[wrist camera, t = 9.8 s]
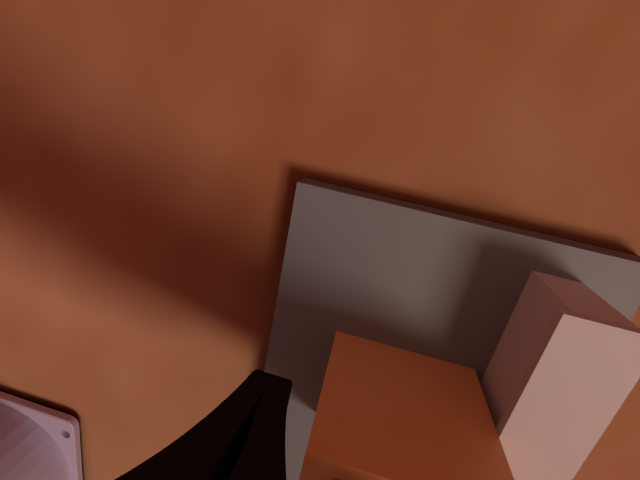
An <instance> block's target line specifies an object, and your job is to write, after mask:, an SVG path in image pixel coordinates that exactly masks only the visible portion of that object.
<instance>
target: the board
mask: <svg viewBox="0 0 640 480" xmlns="http://www.w3.org/2000/svg"><path fill="white" fill-rule="evenodd" d="M639 306H640V256H638V255H633V254H629V253H625V252H621V251H616V250H612V249H608V248H604V247H599V246H595V245H591V244H586V243H582V242H578V241H574V240H569V239H565V238H561V237H557V236H552V235H548V234H544V233H539V232H535V231H531V230H527V229H522V228H518V227H514V226H510V225H505V224H501V223H497V222H492V221H488V220H484V219H480V218H475V217H471V216H467V215H463V214H458V213H454V212H450V211H445V210H441V209H437V208H433V207H428V206H424V205H420V204H416V203H411V202H407V201H403V200H398V199H394V198H390V197H386V196H381V195H377V194H373V193H369V192H364V191H360V190H356V189H351V188H347V187H343V186H339V185H334V184H330V183H326V182H322V181H317V180H313V179H309V178H302V179H301V180H299V181H298V182H297V185H296V191H295V197H294V203H293V208H292V214H291V220H290V225H289V231H288V237H287V243H286V248H285V254H284V260H283V266H282V271H281V277H280V283H279V288H278V294H277V300H276V306H275V311H274V317H273V323H272V329H271V334H270V340H269V346H268V351H267V357H266V363H265V369H264V372H267V373H270V374H273V375H277V376H280V377H283V378H287V379H290V380H291V381H292V383H293V385H292V389H291V394H290V399H289V403H288V408H287V414H286V434H285V457H286V479H287V480H299V477H300V473H301V469H302V465H303V461H304V457H305V453H306V449H307V445H308V441H309V437H310V433H311V429H312V425H313V421H314V417H315V413H316V409H317V405H318V401H319V397H320V393H321V389H322V385H323V381H324V377H325V374H326V370H327V366H328V362H329V358H330V354H331V350H332V346H333V342H334V338H335V334H336V331H339V332H343V333H346V334H350V335H354V336H357V337H361V338H364V339H368V340H371V341H375V342H379V343H382V344H386V345H389V346H393V347H396V348H400V349H404V350H407V351H411V352H414V353H418V354H421V355H425V356H429V357H432V358H436V359H439V360H443V361H446V362H450V363H454V364H457V365H461V366H464V367H468V368H471V369H475V371H476V374H477V377H478V380H479V383H480V385H481V388H482V391H483V394H484V397H485V399H486V402H487V405H488V408H489V411H490V413H491V416H492V419H493V422H494V425H495V427H496V430H497V433H498V436H499V438H500V441H501V444H502V447H503V450H504V452H505V455H506V458H507V461H508V464H509V466H510V469H511V472H512V475H513V478H514V480H572V479H573V478H574V476H575V474H576V473H577V471H578V470H579V468H580V467H581V465H582V464H583V462H584V461H585V459H586V458H587V456H588V455H589V453H590V452H591V450H592V449H593V447H594V446H595V444H596V443H597V441H598V440H599V438H600V437H601V435H602V434H603V432H604V431H605V429H606V428H607V426H608V425H609V423H610V422H611V420H612V419H613V417H614V416H615V414H616V413H617V411H618V410H619V408H620V407H621V405H622V404H623V402H624V401H625V399H626V398H627V396H628V395H629V393H630V392H631V390H632V389H633V387H634V386H635V384H636V382H637V381H638V379H639V378H640V328H638V327H637V326H636V325H635V324H633V323H632V322H631V319H632V317H633V316H634V314H635V313H636V311H637V309H638V308H639Z"/></svg>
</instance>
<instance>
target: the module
mask: <svg viewBox="0 0 640 480" xmlns="http://www.w3.org/2000/svg"><path fill="white" fill-rule="evenodd" d="M299 480H514V478H513V475H512V472H511V469H510V466H509V464H508V461H507V458H506V455H505V452H504V450H503V447H502V444H501V441H500V438H499V436H498V433H497V430H496V427H495V425H494V422H493V419H492V416H491V413H490V411H489V408H488V405H487V402H486V399H485V397H484V394H483V391H482V388H481V385H480V383H479V380H478V377H477V374H476V371H475V369H471V368H468V367H464V366H461V365H457V364H454V363H450V362H446V361H443V360H439V359H436V358H432V357H429V356H425V355H421V354H418V353H414V352H411V351H407V350H404V349H400V348H396V347H393V346H389V345H386V344H382V343H379V342H375V341H371V340H368V339H364V338H361V337H357V336H354V335H350V334H346V333H343V332H339V331H336V334H335V338H334V342H333V346H332V350H331V354H330V358H329V362H328V366H327V370H326V374H325V377H324V381H323V385H322V389H321V393H320V397H319V401H318V405H317V409H316V413H315V417H314V421H313V425H312V429H311V433H310V437H309V441H308V445H307V449H306V453H305V457H304V461H303V465H302V469H301V473H300V477H299Z"/></svg>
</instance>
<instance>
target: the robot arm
mask: <svg viewBox="0 0 640 480" xmlns="http://www.w3.org/2000/svg"><path fill="white" fill-rule="evenodd" d="M292 385H293V383H292V381H291V380H290V379H287V378H283V377H280V376H277V375H273V374H270V373H267V372H264V371H260V370H255V371H253V372H252V373H251V374H250V375H249V376H248V378H247V379H246V380H245V381H244V382H243V383H242V384H241V385H240V386H239V387H238V388H237V389H236V390H235V391H234V392H233V393H232V394H231V395H230V396H229V397H228V398H226V399H225V400H224V401H223V402H222V403H221V404H220V405H219V406H218V407H216V408H215V409H214V410H213V411H212V412H211V413H210V414H208V415H207V416H206V417H205V418H204V419H202V420H201V421H200V422H199V423H197V424H196V425H195V426H194V427H192V428H191V429H190V430H189V431H187V432H186V433H185V434H184V435H182V436H181V437H180V438H178V439H177V440H175V441H174V442H173V443H171V444H170V445H168V446H167V447H166V448H164V449H163V450H161V451H160V452H158V453H157V454H155V455H154V456H152V457H151V458H149V459H148V460H146V461H144V462H143V463H141V464H140V465H138V466H137V467H135V468H133V469H132V470H130V471H129V472H127V473H125V474H124V475H122V476H120V477H118V478H117V479H115V480H287V479H286V457H285V434H286V414H287V408H288V403H289V399H290V394H291V389H292ZM0 480H83V475H82V460H81V445H80V431H79V422H78V420H77V419H76V418H75V417H74V416H72V415H69V414H66V413H63V412H60V411H57V410H54V409H51V408H48V407H45V406H42V405H40V404H37V403H34V402H31V401H28V400H25V399H22V398H19V397H16V396H13V395H10V394H7V393H4V392H1V391H0Z"/></svg>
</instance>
